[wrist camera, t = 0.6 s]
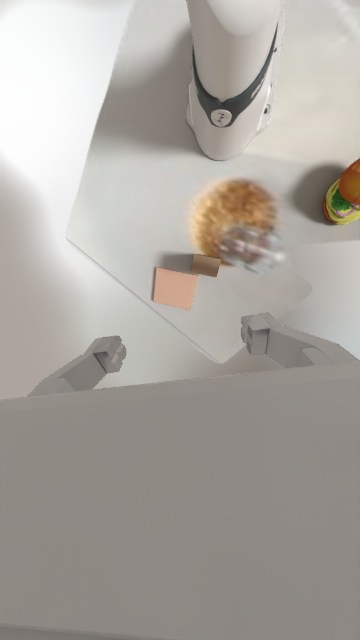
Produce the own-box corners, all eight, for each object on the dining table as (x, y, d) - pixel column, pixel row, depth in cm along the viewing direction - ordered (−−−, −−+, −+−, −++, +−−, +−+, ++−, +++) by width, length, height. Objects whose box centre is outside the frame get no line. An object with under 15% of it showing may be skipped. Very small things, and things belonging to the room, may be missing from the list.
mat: (157, 267, 51) (156, 267, 50) (198, 275, 50) (197, 275, 49) (154, 300, 56) (153, 301, 56) (191, 309, 55) (190, 309, 54)
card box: (197, 254, 47) (194, 254, 39) (220, 258, 46) (221, 259, 38) (194, 268, 49) (190, 272, 41) (216, 273, 48) (216, 277, 40)
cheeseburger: (314, 231, 39) (345, 210, 30) (316, 184, 38) (349, 147, 28) (364, 222, 36) (416, 197, 27) (369, 172, 35) (425, 127, 25)
